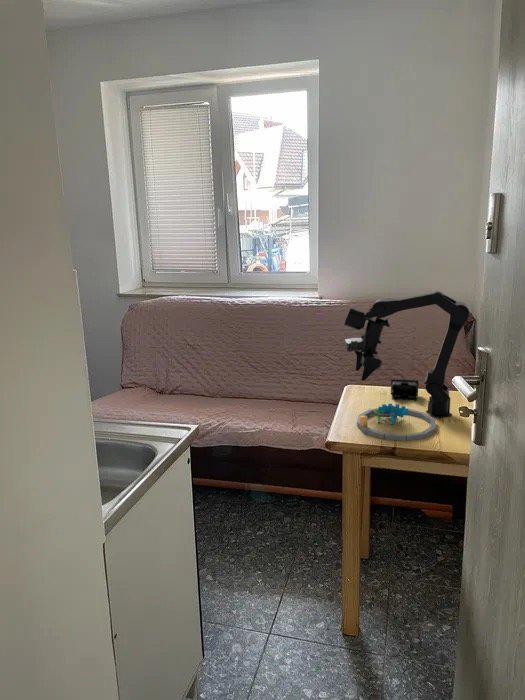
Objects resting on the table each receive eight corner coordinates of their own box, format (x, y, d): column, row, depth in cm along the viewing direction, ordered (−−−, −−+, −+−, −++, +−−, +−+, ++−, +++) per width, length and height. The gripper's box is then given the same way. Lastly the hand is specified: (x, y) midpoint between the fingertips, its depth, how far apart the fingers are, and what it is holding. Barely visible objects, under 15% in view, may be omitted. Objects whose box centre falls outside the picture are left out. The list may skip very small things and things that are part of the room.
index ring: (409, 407, 194) (410, 395, 193) (451, 433, 170) (452, 420, 169) (344, 416, 187) (344, 404, 186) (378, 445, 164) (378, 431, 163)
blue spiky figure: (410, 414, 183) (405, 401, 176) (410, 430, 181) (405, 417, 173) (377, 414, 188) (371, 402, 180) (377, 430, 185) (370, 418, 177)
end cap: (417, 394, 207) (418, 378, 205) (418, 401, 200) (418, 383, 199) (390, 393, 210) (391, 376, 208) (390, 399, 203) (390, 382, 201)
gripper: (345, 321, 195) (333, 361, 200) (356, 338, 177) (343, 381, 182) (374, 328, 196) (362, 367, 201) (388, 345, 179) (374, 387, 184)
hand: (359, 375), depth 192 cm, fingers open, 9 cm apart
